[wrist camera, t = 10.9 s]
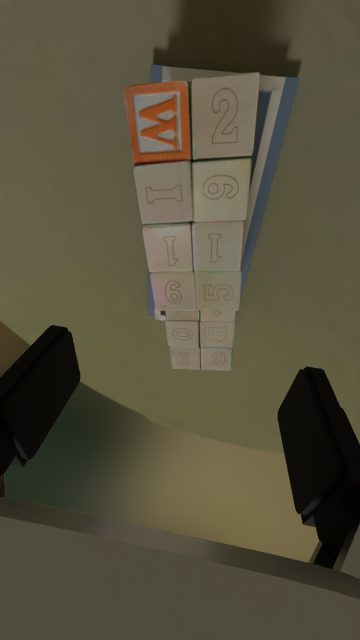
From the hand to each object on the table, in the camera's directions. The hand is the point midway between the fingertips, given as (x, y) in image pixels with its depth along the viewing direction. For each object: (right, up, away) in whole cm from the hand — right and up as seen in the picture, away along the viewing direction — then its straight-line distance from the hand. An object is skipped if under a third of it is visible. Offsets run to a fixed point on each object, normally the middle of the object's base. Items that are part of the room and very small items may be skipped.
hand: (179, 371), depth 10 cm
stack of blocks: (+3, +11, +17) cm, 20 cm away
